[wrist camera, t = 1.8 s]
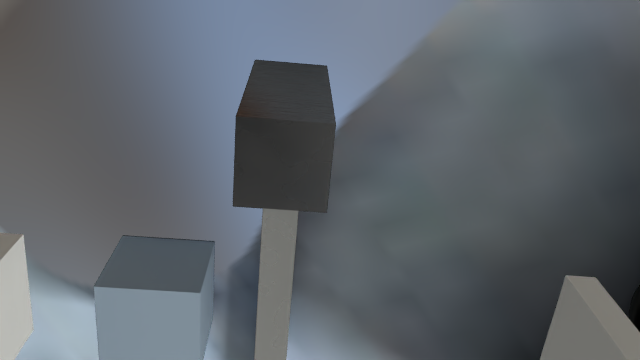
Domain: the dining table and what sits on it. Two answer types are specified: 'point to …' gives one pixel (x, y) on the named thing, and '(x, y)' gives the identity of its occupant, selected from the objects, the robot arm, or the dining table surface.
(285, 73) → the dark grey angular block
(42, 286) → the dining table surface
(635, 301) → the mug
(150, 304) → the cube
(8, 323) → the robot arm
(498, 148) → the dining table surface
